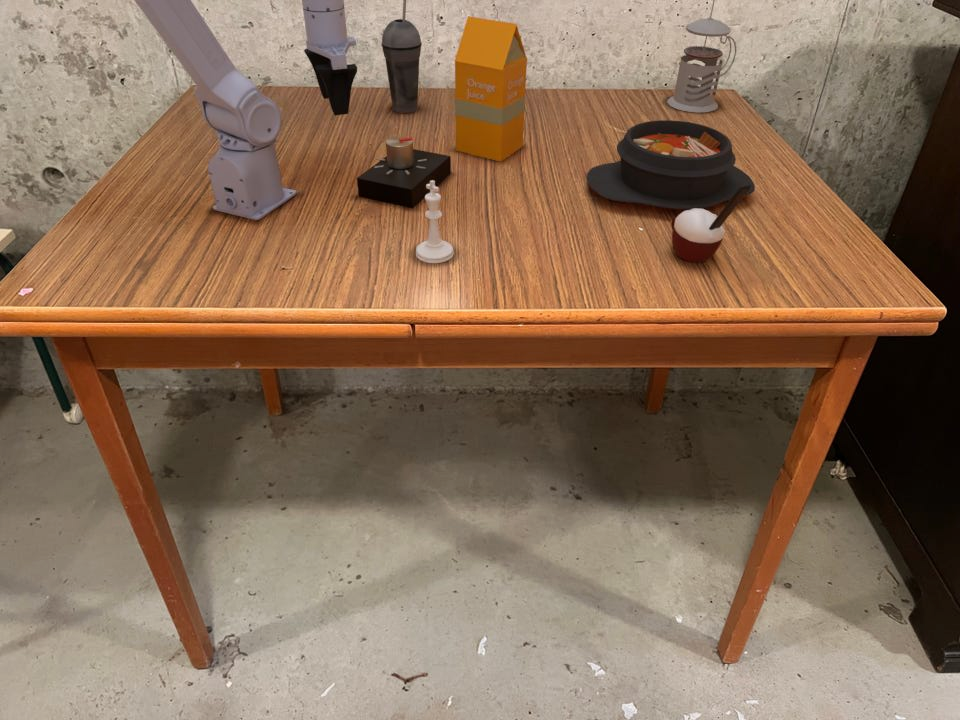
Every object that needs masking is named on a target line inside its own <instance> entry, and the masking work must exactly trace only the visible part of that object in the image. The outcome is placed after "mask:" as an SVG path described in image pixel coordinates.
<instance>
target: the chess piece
mask: <svg viewBox="0 0 960 720" xmlns="http://www.w3.org/2000/svg"><path fill="white" fill-rule="evenodd" d="M426 188H427V189H430V193H428V194H426V195H425V198H424V200H425V203H426V205H427V208H428V210H426V211H425V213H424V217H425V218H426V219H429V225H428V234H427V235H428V236H427V239H426V240H424V241H421V242H420V243H419V244H418V245H416V250H415V256H416V258H417V259H418V260H419V261H420V262H423V263H428V264H441V263H445V262H447V261H450V260H451V259H452V258H453V257H454V254H455V251H454V247H453V245H452V244H451V243H450V242H448V241H446V240H443V239H442V238H441V233H440V228H439V218H440V219H441V217H442V216H443V213H442V211H441V210H440V209H439V207H440V202H441V200H442V195H441V194H440V193H438V192H439V191H440V187H438V186H437V187H436V186H435V181H433V180H431V181H430V184H427V185H426Z"/></svg>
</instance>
